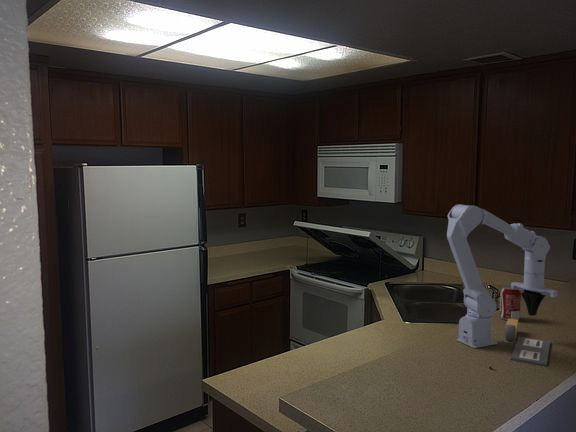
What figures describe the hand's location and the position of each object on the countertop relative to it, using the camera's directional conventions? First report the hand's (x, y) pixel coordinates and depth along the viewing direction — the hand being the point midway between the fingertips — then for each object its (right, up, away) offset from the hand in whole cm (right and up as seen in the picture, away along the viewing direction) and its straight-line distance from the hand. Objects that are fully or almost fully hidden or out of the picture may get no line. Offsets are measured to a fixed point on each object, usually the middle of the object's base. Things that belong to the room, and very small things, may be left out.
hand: (532, 314), depth 152 cm
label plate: (-6, -9, -9) cm, 14 cm away
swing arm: (-5, -7, +4) cm, 10 cm away
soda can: (+4, -7, +24) cm, 25 cm away
